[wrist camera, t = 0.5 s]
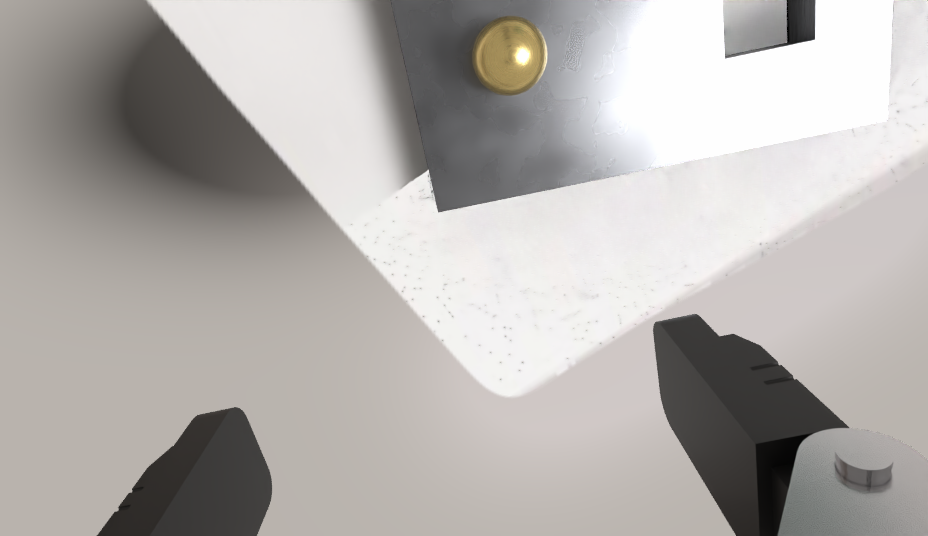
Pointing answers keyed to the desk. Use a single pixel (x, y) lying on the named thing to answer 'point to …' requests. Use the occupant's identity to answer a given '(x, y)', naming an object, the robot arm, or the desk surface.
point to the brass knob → (509, 55)
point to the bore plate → (631, 88)
